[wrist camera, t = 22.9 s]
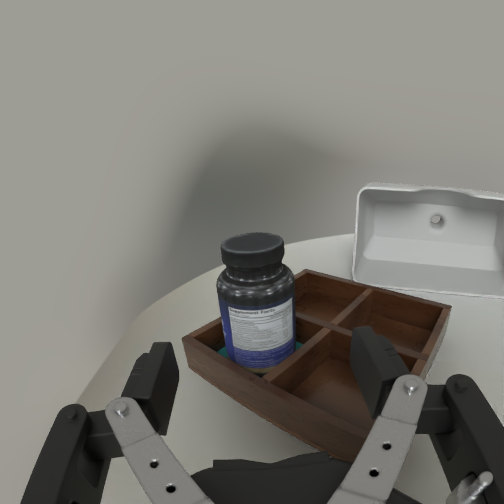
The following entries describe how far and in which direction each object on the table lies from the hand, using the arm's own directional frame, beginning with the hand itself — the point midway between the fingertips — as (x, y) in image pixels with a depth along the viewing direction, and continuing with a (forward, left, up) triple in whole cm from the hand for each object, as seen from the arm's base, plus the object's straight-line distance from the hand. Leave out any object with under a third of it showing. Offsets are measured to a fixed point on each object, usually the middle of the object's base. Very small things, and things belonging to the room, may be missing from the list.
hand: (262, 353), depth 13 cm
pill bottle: (+8, +8, -10) cm, 15 cm away
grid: (+12, +4, -10) cm, 16 cm away
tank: (+38, 0, -10) cm, 40 cm away
